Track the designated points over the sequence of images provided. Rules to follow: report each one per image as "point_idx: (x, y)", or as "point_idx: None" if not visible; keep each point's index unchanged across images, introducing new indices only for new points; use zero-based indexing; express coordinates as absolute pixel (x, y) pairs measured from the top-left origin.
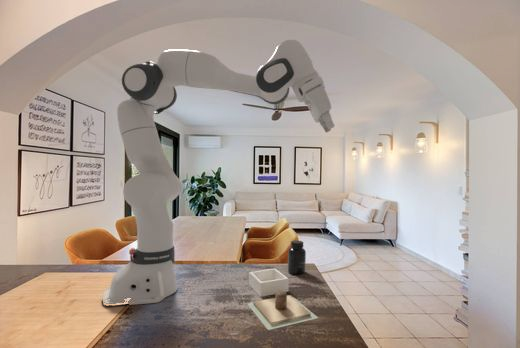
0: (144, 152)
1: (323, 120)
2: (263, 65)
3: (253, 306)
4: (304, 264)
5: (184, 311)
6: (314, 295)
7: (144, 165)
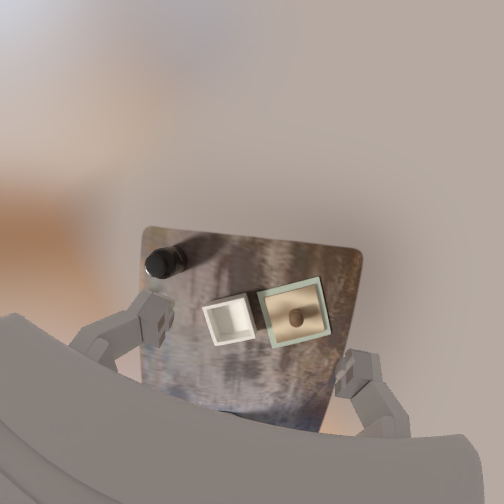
0: None
1: (108, 363)
2: None
3: (281, 342)
4: (178, 251)
5: (276, 403)
6: (258, 259)
7: None
